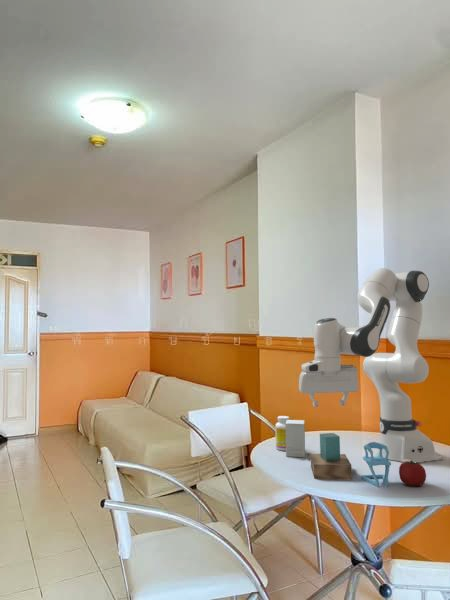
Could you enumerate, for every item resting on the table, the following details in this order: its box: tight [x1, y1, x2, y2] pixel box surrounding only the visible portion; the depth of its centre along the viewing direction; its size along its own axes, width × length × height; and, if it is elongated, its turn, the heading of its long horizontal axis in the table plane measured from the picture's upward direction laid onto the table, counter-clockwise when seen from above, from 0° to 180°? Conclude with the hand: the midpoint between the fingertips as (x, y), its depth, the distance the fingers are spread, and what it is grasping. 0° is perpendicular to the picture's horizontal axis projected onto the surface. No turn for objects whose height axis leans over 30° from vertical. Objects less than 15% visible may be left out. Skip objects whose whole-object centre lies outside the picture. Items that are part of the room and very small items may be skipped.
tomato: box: [398, 461, 427, 487], centre depth 134 cm, size 8×8×7 cm
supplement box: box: [285, 419, 306, 458], centre depth 167 cm, size 7×7×13 cm
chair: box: [360, 441, 392, 488], centre depth 137 cm, size 8×8×12 cm
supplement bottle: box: [274, 415, 290, 452], centre depth 175 cm, size 7×7×13 cm
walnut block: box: [310, 453, 353, 481], centre depth 146 cm, size 12×12×5 cm
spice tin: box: [319, 432, 341, 462], centre depth 146 cm, size 5×5×8 cm
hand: (329, 405), depth 147 cm, fingers open, 8 cm apart
